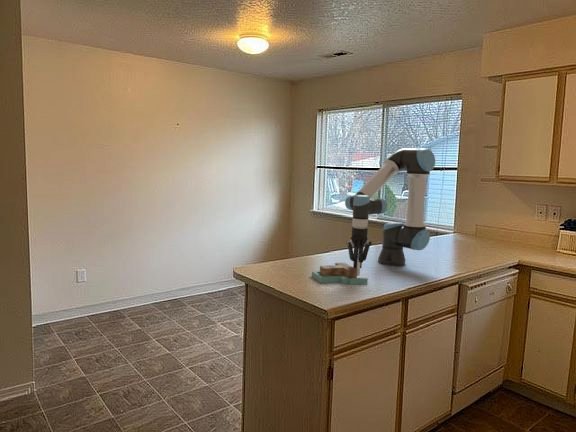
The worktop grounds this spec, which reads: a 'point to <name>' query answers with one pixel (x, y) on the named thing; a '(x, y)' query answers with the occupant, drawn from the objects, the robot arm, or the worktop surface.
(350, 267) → the t block
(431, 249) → the worktop surface
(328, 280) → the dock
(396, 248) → the robot arm
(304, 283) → the worktop surface
